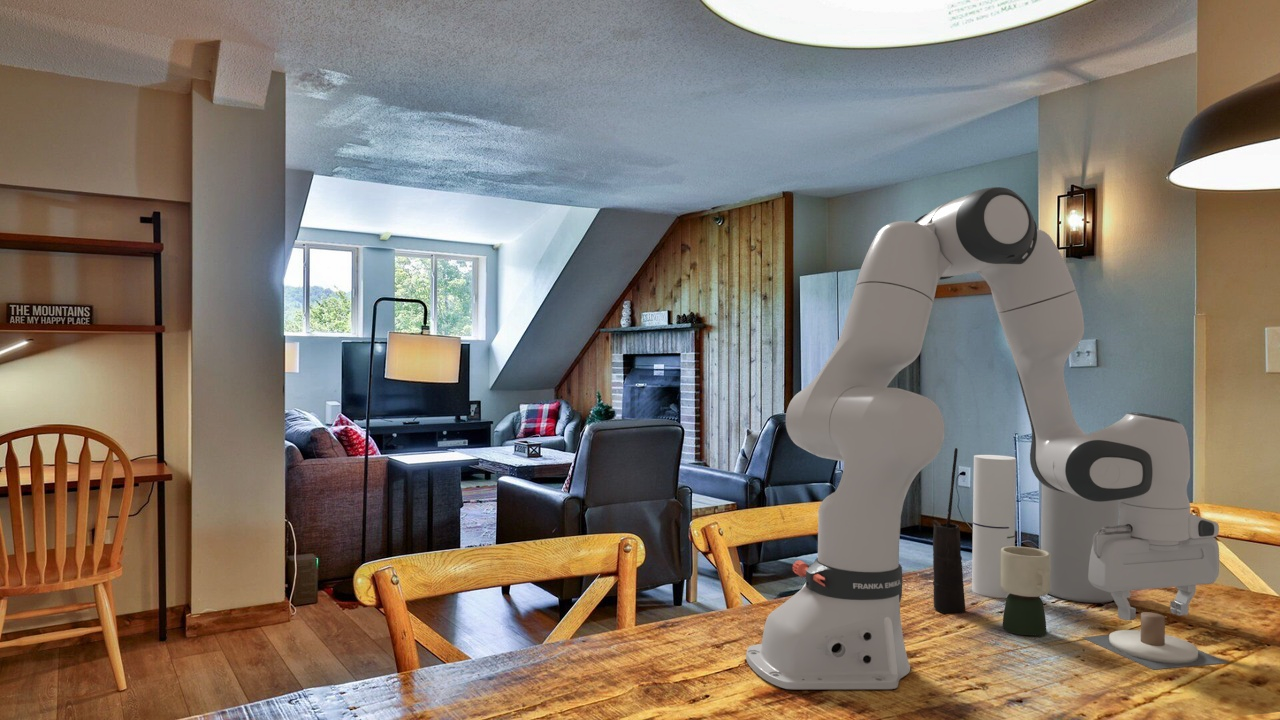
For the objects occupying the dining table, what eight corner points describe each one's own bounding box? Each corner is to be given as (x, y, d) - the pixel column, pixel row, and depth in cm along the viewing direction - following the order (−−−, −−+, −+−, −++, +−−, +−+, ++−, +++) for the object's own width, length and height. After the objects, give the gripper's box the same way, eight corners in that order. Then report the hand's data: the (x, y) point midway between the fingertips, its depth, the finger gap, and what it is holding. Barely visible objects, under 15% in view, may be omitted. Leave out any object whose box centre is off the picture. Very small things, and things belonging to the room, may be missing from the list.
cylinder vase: (1132, 604, 142) (1134, 463, 142) (1061, 603, 142) (1063, 462, 142) (1093, 584, 155) (1095, 454, 154) (1028, 583, 155) (1029, 454, 155)
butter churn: (903, 602, 142) (905, 443, 142) (951, 598, 144) (953, 442, 144) (934, 618, 133) (936, 449, 133) (984, 615, 135) (986, 448, 135)
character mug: (1068, 645, 121) (1069, 559, 121) (1026, 647, 120) (1027, 560, 120) (1022, 621, 132) (1023, 542, 132) (982, 623, 131) (984, 543, 131)
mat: (1153, 673, 111) (1153, 669, 111) (1081, 641, 123) (1081, 637, 123) (1229, 666, 113) (1229, 662, 113) (1151, 635, 126) (1151, 631, 126)
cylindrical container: (964, 586, 152) (966, 454, 152) (1000, 586, 153) (1002, 454, 153) (984, 598, 145) (986, 459, 145) (1022, 597, 146) (1024, 459, 146)
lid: (1153, 666, 112) (1153, 630, 112) (1091, 639, 122) (1092, 606, 122) (1217, 660, 114) (1217, 624, 114) (1151, 633, 125) (1151, 601, 125)
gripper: (1112, 531, 113) (1111, 629, 113) (1228, 524, 118) (1228, 618, 118) (1077, 522, 119) (1077, 615, 119) (1189, 515, 124) (1189, 605, 124)
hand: (1153, 616), depth 119 cm, fingers open, 8 cm apart
